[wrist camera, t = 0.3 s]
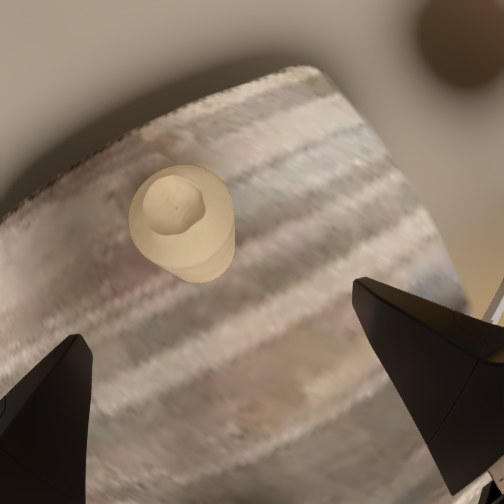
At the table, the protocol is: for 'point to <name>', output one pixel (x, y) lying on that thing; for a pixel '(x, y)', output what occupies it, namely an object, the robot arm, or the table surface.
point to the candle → (184, 222)
